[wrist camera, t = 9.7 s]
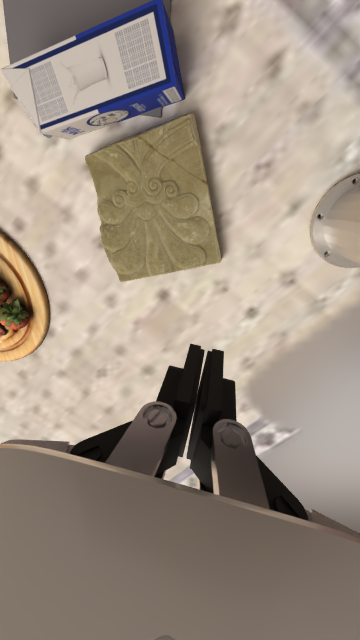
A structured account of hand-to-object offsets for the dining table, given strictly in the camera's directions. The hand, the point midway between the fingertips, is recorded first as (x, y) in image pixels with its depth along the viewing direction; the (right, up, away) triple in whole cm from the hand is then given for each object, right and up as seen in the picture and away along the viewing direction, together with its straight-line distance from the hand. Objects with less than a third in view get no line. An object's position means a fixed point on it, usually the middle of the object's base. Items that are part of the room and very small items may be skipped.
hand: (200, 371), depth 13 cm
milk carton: (-1, +33, +17) cm, 37 cm away
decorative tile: (-5, +20, +28) cm, 35 cm away
